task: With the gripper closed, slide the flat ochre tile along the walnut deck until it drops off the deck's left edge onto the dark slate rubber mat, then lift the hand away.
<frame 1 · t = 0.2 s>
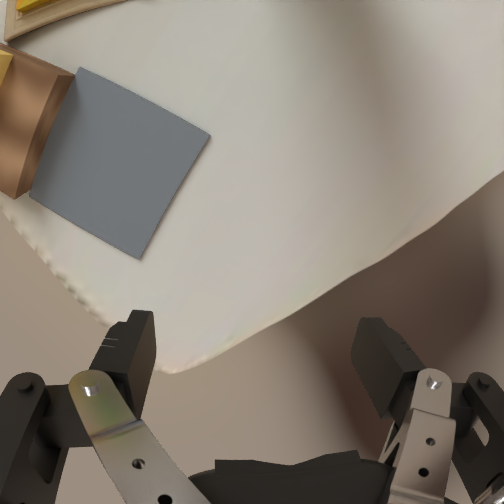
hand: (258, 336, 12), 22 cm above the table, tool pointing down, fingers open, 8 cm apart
slate mat: (106, 165, 29), on the table
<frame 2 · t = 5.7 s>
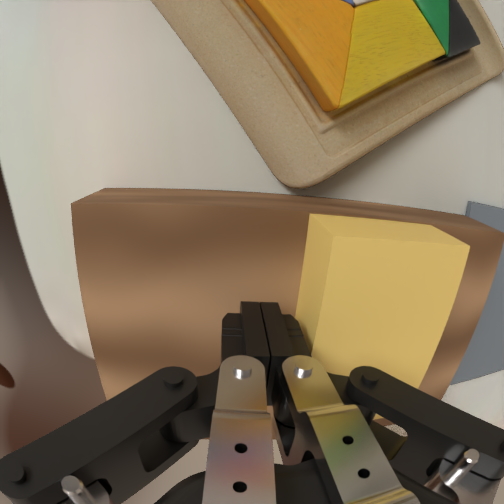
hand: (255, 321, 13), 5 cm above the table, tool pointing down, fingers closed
slate mat: (502, 304, 20), on the table
ochre tile: (368, 330, 13), point 6 cm above the table, touching gripper, walnut deck
walnut deck: (297, 314, 18), on the table
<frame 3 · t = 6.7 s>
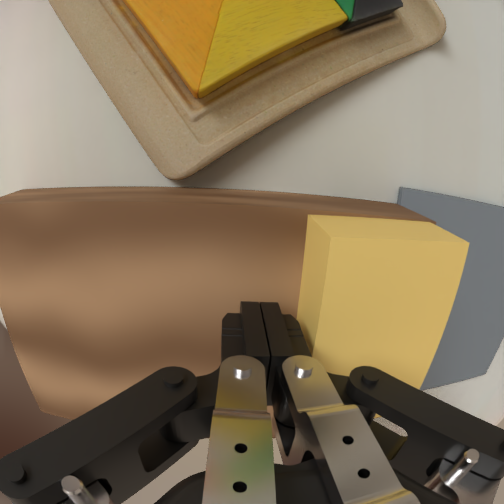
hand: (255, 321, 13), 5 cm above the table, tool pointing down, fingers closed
slate mat: (460, 306, 20), on the table
ochre tile: (370, 328, 13), point 5 cm above the table, touching walnut deck
walnut deck: (197, 310, 18), on the table
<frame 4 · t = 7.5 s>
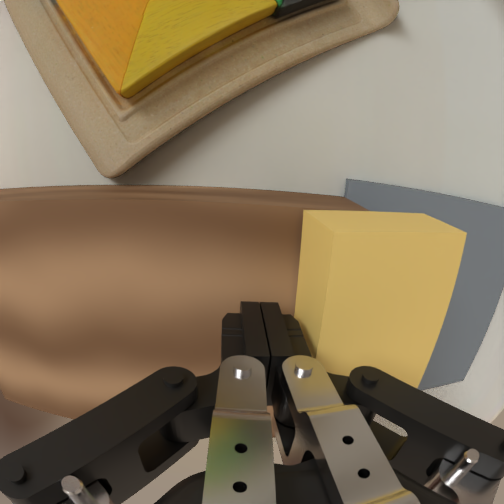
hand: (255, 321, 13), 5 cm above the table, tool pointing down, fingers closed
slate mat: (427, 308, 19), on the table
ochre tile: (370, 323, 13), point 6 cm above the table, touching gripper, walnut deck
walnut deck: (140, 305, 18), on the table
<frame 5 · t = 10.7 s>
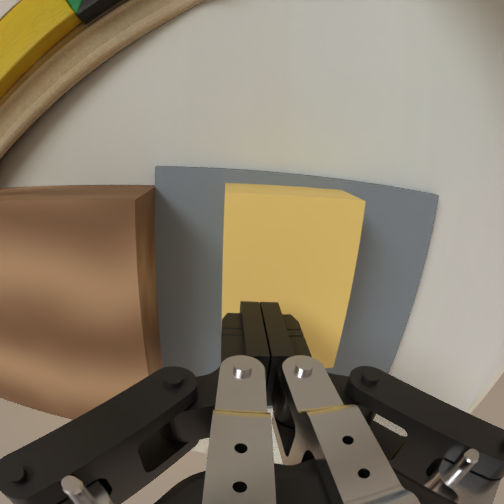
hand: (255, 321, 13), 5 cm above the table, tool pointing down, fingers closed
slate mat: (295, 312, 18), on the table
ochre tile: (283, 281, 16), point 2 cm above the table, tilted 180°, touching slate mat
walnut deck: (12, 290, 17), on the table
wooden puzzle: (35, 3, 11), on the table
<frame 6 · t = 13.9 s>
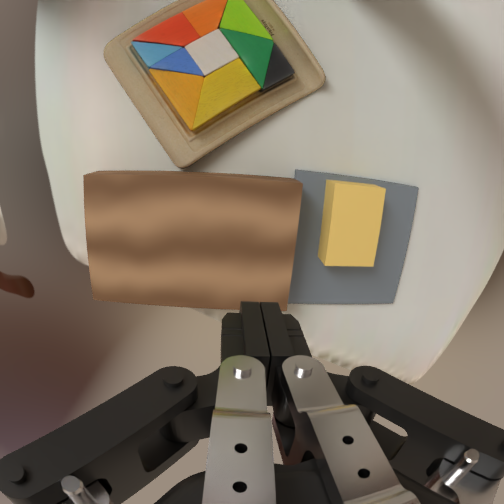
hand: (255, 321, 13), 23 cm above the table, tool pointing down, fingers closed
slate mat: (351, 243, 37), on the table
ochre tile: (351, 223, 34), point 2 cm above the table, tilted 180°, touching slate mat
walnut deck: (190, 234, 35), on the table
wooden puzzle: (211, 61, 29), on the table
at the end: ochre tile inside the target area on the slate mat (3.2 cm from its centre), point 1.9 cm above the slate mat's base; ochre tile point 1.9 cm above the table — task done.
